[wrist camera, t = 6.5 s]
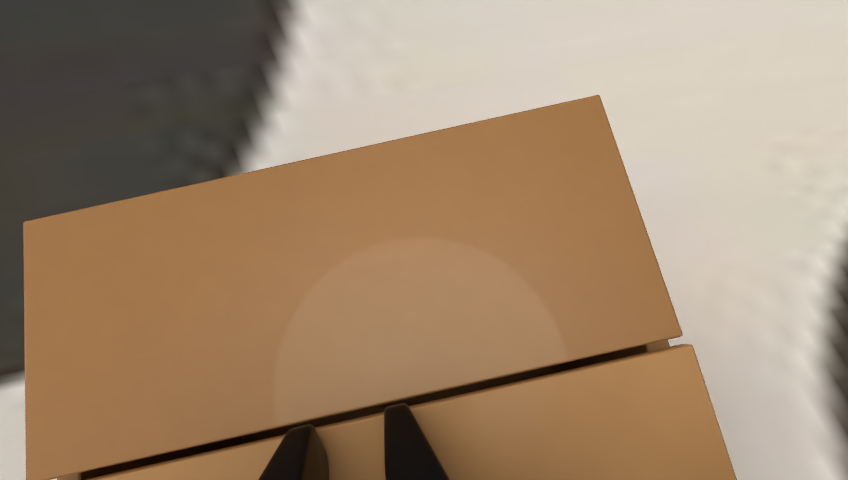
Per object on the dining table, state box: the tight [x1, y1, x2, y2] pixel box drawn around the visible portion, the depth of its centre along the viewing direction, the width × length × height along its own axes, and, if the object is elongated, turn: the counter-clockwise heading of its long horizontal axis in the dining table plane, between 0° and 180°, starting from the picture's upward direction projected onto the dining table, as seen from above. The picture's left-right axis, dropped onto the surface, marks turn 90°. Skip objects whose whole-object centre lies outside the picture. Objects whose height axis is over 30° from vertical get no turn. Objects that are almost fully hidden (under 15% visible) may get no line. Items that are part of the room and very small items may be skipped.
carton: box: [23, 95, 682, 480], centre depth 14 cm, size 11×13×9 cm
